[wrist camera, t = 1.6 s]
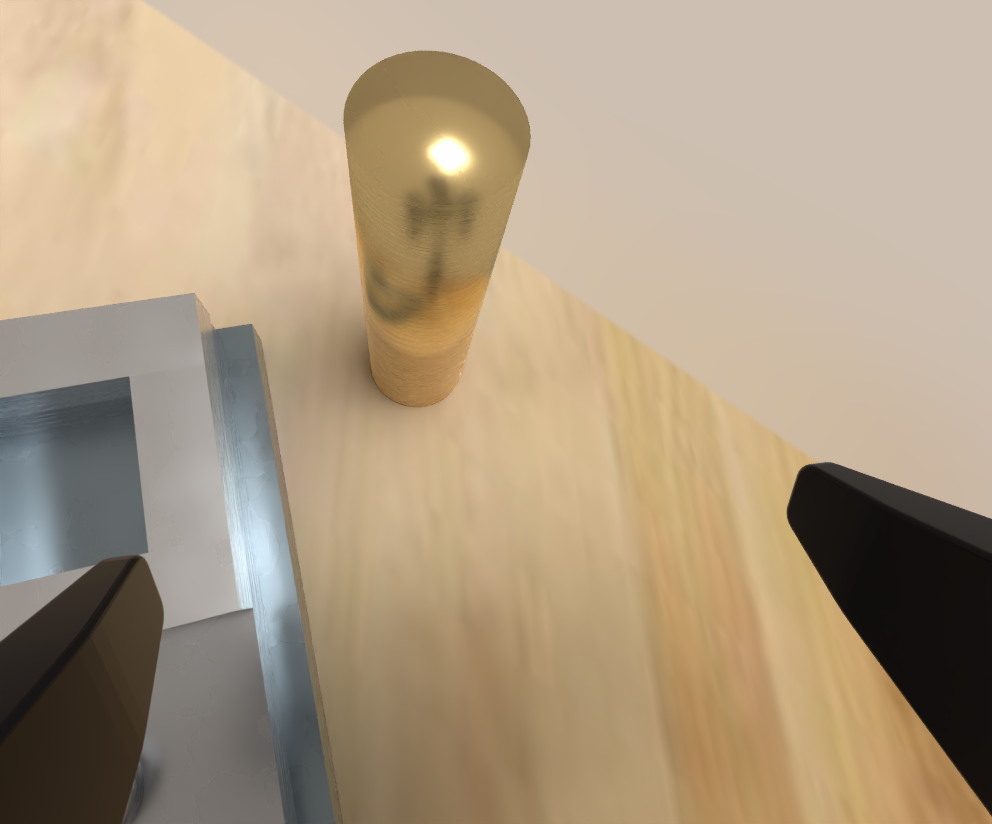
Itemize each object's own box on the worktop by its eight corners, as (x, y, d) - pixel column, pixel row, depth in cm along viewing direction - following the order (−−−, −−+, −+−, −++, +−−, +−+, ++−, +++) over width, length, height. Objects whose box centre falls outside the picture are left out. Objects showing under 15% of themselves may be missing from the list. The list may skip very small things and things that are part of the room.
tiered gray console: (378, 1037, 17) (373, 1189, 13) (-69, 1231, 14) (-262, 1500, 10) (261, 340, 22) (229, 281, 18) (-82, 396, 20) (-215, 344, 15)
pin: (470, 397, 23) (551, 193, 11) (380, 414, 22) (364, 216, 10) (449, 315, 24) (504, 45, 12) (362, 330, 23) (327, 55, 11)
